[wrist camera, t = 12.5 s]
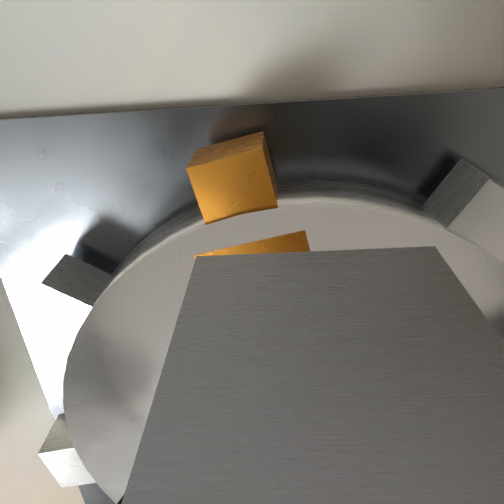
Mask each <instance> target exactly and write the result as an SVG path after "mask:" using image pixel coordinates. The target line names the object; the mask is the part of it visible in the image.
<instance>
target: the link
mask: <svg viewBox="0 0 504 504" xmlns="http://www.w3.org/2000/svg"><path fill="white" fill-rule="evenodd" d="M121 504H504V342H503V341H502V339H501V338H500V336H499V335H498V334H497V332H496V331H495V329H494V328H493V327H492V325H491V324H490V322H489V321H488V320H487V318H486V317H485V316H484V314H483V313H482V311H481V310H480V309H479V307H478V306H477V304H476V303H475V302H474V300H473V299H472V297H471V296H470V295H469V293H468V292H467V290H466V289H465V288H464V286H463V285H462V283H461V282H460V281H459V279H458V278H457V276H456V275H455V274H454V272H453V271H452V270H451V268H450V267H449V265H448V264H447V263H446V261H445V260H444V258H443V257H442V256H441V254H440V253H439V251H438V250H437V249H436V247H435V246H425V247H401V248H378V249H354V250H331V251H308V252H284V253H261V254H237V255H214V256H196V259H195V263H194V266H193V269H192V272H191V276H190V279H189V282H188V286H187V289H186V292H185V296H184V299H183V302H182V305H181V309H180V312H179V315H178V319H177V322H176V325H175V329H174V332H173V335H172V338H171V342H170V345H169V348H168V352H167V355H166V358H165V362H164V365H163V368H162V371H161V375H160V378H159V381H158V385H157V388H156V391H155V395H154V398H153V401H152V404H151V408H150V411H149V414H148V418H147V421H146V424H145V428H144V431H143V434H142V437H141V441H140V444H139V447H138V451H137V454H136V457H135V461H134V464H133V467H132V470H131V474H130V477H129V480H128V484H127V487H126V490H125V494H124V497H123V500H122V503H121Z"/></svg>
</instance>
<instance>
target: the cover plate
mask: <svg viewBox="0 0 504 504" xmlns="http://www.w3.org/2000/svg"><path fill="white" fill-rule="evenodd" d="M261 131H264V135H265V139H266V143H267V147H268V151H269V155H270V159H271V162H272V166H273V170H274V174H275V178H276V182H283V181H301V180H328V181H343V182H354V183H359V184H364V185H369V186H374V187H379V188H384V189H388V190H391V191H394V192H397V193H400V194H403V195H406V196H409V197H412V198H415V199H417V200H420V201H422V202H424V203H425V202H426V200H427V199H428V198H429V197H430V196H431V194H432V193H433V192H434V191H435V189H436V188H437V187H438V186H439V184H440V183H441V182H442V181H443V180H444V178H445V177H446V176H447V175H448V173H449V172H450V171H451V170H452V168H453V167H454V166H455V165H456V164H457V162H458V161H459V160H460V159H461V158H462V159H463V160H465V161H466V162H468V163H469V164H471V165H473V166H474V167H476V168H477V169H479V170H480V171H482V172H483V173H485V174H487V175H488V176H490V177H491V178H493V179H494V180H496V181H497V182H499V183H501V184H502V185H504V87H503V88H487V89H471V90H455V91H439V92H422V93H406V94H390V95H374V96H358V97H342V98H325V99H309V100H293V101H277V102H261V103H245V104H228V105H212V106H196V107H180V108H164V109H148V110H131V111H115V112H99V113H83V114H67V115H51V116H34V117H18V118H2V119H0V277H1V279H2V282H3V285H4V287H5V290H6V293H7V295H8V298H9V301H10V303H11V306H12V309H13V311H14V314H15V317H16V319H17V322H18V325H19V327H20V330H21V329H22V326H23V324H24V322H25V319H26V317H27V314H28V312H29V309H30V307H31V305H32V302H33V300H34V297H35V295H36V292H37V290H38V287H39V285H40V283H41V282H42V281H43V279H44V278H45V277H46V276H47V275H48V274H49V272H50V271H51V270H52V269H53V268H54V267H55V265H56V264H57V263H58V262H59V261H60V259H61V258H62V257H63V256H64V255H65V254H66V253H67V254H69V255H71V256H73V257H75V258H77V259H79V260H81V261H83V262H86V263H88V264H90V265H92V266H94V267H96V268H98V269H100V270H102V271H104V272H107V273H109V274H111V275H112V274H113V272H114V270H115V269H116V268H117V267H118V266H119V265H120V263H121V262H122V261H123V260H124V259H125V257H126V256H127V255H128V254H129V253H130V252H131V250H132V249H133V248H134V247H136V246H137V245H138V244H139V243H140V242H141V241H143V240H144V239H145V238H146V237H147V236H148V235H149V234H151V233H152V232H153V231H154V230H155V229H157V228H158V227H160V226H161V225H163V224H165V223H166V222H168V221H169V220H171V219H172V218H174V217H175V216H177V215H178V214H180V213H182V212H184V211H186V210H188V209H190V208H192V207H195V206H197V205H199V204H198V201H197V199H196V196H195V193H194V190H193V187H192V184H191V181H190V178H189V176H188V173H187V170H186V168H187V166H188V164H189V162H190V160H191V158H192V156H193V155H194V153H195V151H196V149H198V148H201V147H205V146H209V145H213V144H216V143H220V142H224V141H228V140H231V139H235V138H239V137H243V136H246V135H250V134H254V133H258V132H261ZM21 333H22V335H23V338H24V341H25V344H26V346H27V349H28V352H29V354H30V357H31V360H32V362H33V365H34V368H35V370H36V373H37V376H38V378H39V381H40V384H41V386H42V389H43V392H44V394H45V397H46V400H47V403H48V405H49V408H50V411H51V413H52V416H53V419H54V421H55V420H56V418H57V417H58V415H59V414H61V413H64V407H63V379H64V374H65V369H66V363H67V358H68V355H69V352H70V351H67V350H65V349H63V348H60V347H58V346H56V345H54V344H51V343H49V342H47V341H44V340H42V339H40V338H37V337H35V336H33V335H30V334H28V333H26V332H23V331H21ZM78 486H79V488H80V491H81V494H82V496H83V499H84V502H85V504H116V503H115V502H114V501H113V500H112V499H111V498H110V497H109V496H108V495H107V494H106V493H105V492H104V491H103V490H102V489H101V488H100V487H99V486H98V484H97V483H91V484H84V485H78Z"/></svg>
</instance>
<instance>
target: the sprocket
mask: <svg viewBox="0 0 504 504" xmlns="http://www.w3.org/2000/svg"><path fill="white" fill-rule="evenodd" d="M186 170H187V173H188V176H189V178H190V181H191V184H192V187H193V190H194V193H195V196H196V199H197V201H198V204H199V205H197V206H195V207H192V208H190V209H188V210H186V211H184V212H182V213H180V214H178V215H177V216H175V217H174V218H172V219H171V220H169V221H168V222H166V223H165V224H163V225H161V226H160V227H158V228H157V229H155V230H154V231H153V232H152V233H151V234H149V235H148V236H147V237H146V238H145V239H144V240H143V241H141V242H140V243H139V244H138V245H137V246H136V247H134V248H133V249H132V250H131V252H130V253H129V254H128V255H127V256H126V257H125V259H124V260H123V261H122V262H121V263H120V265H119V266H118V267H117V268H116V269H115V270H114V272H113V274H112V275H111V274H109V273H107V272H104V271H102V270H100V269H98V268H96V267H94V266H92V265H90V264H88V263H86V262H83V261H81V260H79V259H77V258H75V257H73V256H71V255H69V254H67V253H66V254H65V255H64V256H63V257H62V258H61V259H60V261H59V262H58V263H57V264H56V265H55V267H54V268H53V269H52V270H51V271H50V272H49V274H48V275H47V276H46V277H45V278H44V279H43V281H42V282H41V283H40V285H39V287H38V290H37V292H36V295H35V297H34V300H33V302H32V305H31V307H30V309H29V312H28V314H27V317H26V319H25V322H24V324H23V326H22V329H21V331H23V332H26V333H28V334H30V335H33V336H35V337H37V338H40V339H42V340H44V341H47V342H49V343H51V344H54V345H56V346H58V347H60V348H63V349H65V350H67V351H70V352H69V355H68V358H67V363H66V369H65V374H64V379H63V407H64V413H61V414H59V415H58V417H57V418H56V420H55V422H54V424H53V426H52V428H51V430H50V432H49V434H48V435H47V437H46V439H45V441H44V443H43V445H42V447H41V449H40V451H39V453H38V455H39V456H40V458H41V459H42V460H43V462H44V463H45V465H46V466H47V467H48V469H49V470H50V472H51V473H52V474H53V476H54V477H55V479H56V480H57V481H58V483H59V484H60V486H61V487H62V488H65V487H71V486H78V485H84V484H91V483H97V484H98V486H99V487H100V488H101V489H102V490H103V491H104V492H105V493H106V494H107V495H108V496H109V497H110V498H111V499H112V500H113V501H114V502H115V503H116V504H117V503H118V501H119V500H120V499H121V497H122V496H123V495H124V493H125V490H126V487H127V484H128V480H129V477H130V474H131V470H132V467H133V464H134V461H135V457H136V454H137V451H138V447H139V444H140V441H141V437H142V434H143V431H144V428H145V424H146V421H147V418H148V414H149V411H150V408H151V404H152V401H153V398H154V395H155V391H156V388H157V385H158V381H159V378H160V375H161V371H162V368H163V365H164V362H165V358H166V355H167V352H168V348H169V345H170V342H171V338H172V335H173V332H174V329H175V325H176V322H177V319H178V315H179V312H180V309H181V305H182V302H183V299H184V296H185V292H186V289H187V286H188V282H189V279H190V276H191V272H192V269H193V266H194V263H195V259H196V256H214V255H237V254H261V253H284V252H308V251H331V250H354V249H378V248H401V247H425V246H435V247H436V249H437V250H438V251H439V253H440V254H441V256H442V257H443V258H444V260H445V261H446V263H447V264H448V265H449V267H450V268H451V270H452V271H453V272H454V274H455V275H456V276H457V278H458V279H459V281H460V282H461V283H462V285H463V286H464V288H465V289H466V290H467V292H468V293H469V295H470V296H471V297H472V299H473V300H474V302H475V303H476V304H477V306H478V307H479V309H480V310H481V311H482V313H483V314H484V316H485V317H486V318H487V320H488V321H489V322H490V324H491V325H492V327H493V328H494V329H495V331H496V332H497V334H498V335H499V336H500V338H501V339H502V341H503V342H504V185H502V184H501V183H499V182H497V181H496V180H494V179H493V178H491V177H490V176H488V175H487V174H485V173H483V172H482V171H480V170H479V169H477V168H476V167H474V166H473V165H471V164H469V163H468V162H466V161H465V160H463V159H462V158H461V159H460V160H459V161H458V162H457V164H456V165H455V166H454V167H453V168H452V170H451V171H450V172H449V173H448V175H447V176H446V177H445V178H444V180H443V181H442V182H441V183H440V184H439V186H438V187H437V188H436V189H435V191H434V192H433V193H432V194H431V196H430V197H429V198H428V199H427V200H426V202H425V203H424V202H422V201H420V200H417V199H415V198H412V197H409V196H406V195H403V194H400V193H397V192H394V191H391V190H388V189H384V188H379V187H374V186H369V185H364V184H359V183H354V182H343V181H328V180H301V181H283V182H276V178H275V174H274V170H273V166H272V162H271V159H270V155H269V151H268V147H267V143H266V139H265V135H264V131H261V132H258V133H254V134H250V135H246V136H243V137H239V138H235V139H231V140H228V141H224V142H220V143H216V144H213V145H209V146H205V147H201V148H198V149H196V151H195V153H194V155H193V156H192V158H191V160H190V162H189V164H188V166H187V168H186Z"/></svg>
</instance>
